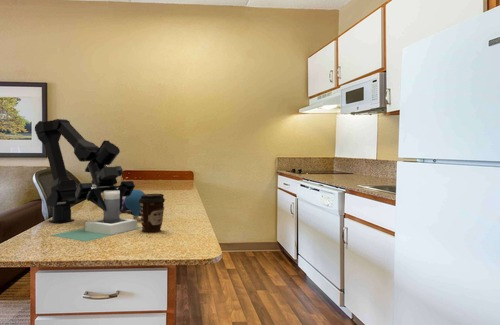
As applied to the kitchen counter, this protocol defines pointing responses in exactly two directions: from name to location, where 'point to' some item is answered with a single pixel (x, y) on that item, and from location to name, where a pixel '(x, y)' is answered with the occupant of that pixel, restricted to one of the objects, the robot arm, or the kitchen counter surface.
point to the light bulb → (134, 202)
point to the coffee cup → (151, 212)
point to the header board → (82, 235)
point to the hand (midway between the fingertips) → (113, 209)
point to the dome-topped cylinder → (112, 206)
